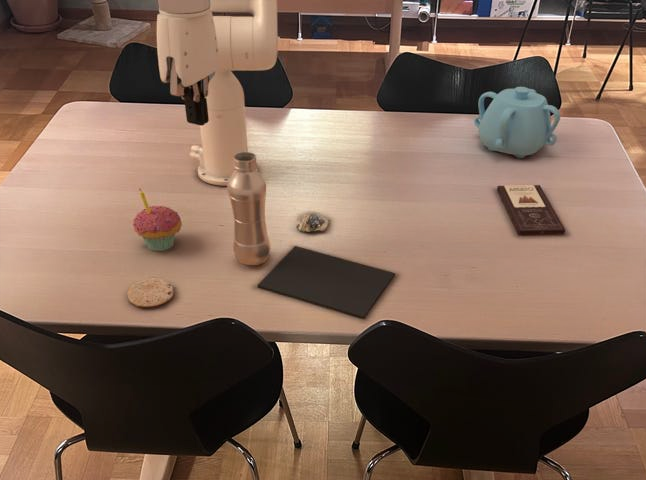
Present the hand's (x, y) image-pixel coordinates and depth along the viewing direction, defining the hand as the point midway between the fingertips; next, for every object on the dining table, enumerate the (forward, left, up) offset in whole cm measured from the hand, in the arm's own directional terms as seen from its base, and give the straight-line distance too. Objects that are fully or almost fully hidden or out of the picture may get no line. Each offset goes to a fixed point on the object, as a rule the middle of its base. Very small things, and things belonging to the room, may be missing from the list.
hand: (198, 122), depth 117 cm
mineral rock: (+12, +16, -25) cm, 32 cm away
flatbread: (-2, -17, -24) cm, 30 cm away
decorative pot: (+38, +68, -25) cm, 82 cm away
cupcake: (-10, -3, -25) cm, 27 cm away
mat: (+23, 0, -24) cm, 34 cm away
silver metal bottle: (+8, 0, -25) cm, 26 cm away
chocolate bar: (+49, +40, -24) cm, 68 cm away
